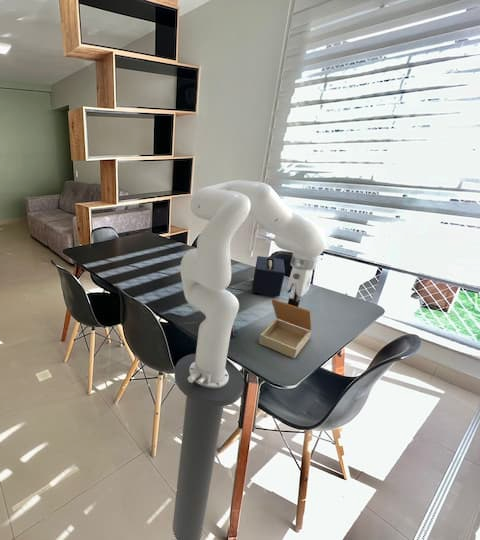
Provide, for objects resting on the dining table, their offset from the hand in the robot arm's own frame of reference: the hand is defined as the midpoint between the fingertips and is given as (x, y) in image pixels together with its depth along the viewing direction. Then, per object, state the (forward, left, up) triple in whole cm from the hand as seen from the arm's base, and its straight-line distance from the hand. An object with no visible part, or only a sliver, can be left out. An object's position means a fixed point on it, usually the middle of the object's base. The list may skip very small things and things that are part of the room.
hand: (292, 308), depth 106 cm
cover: (+2, 0, -4) cm, 4 cm away
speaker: (+43, +24, -14) cm, 51 cm away
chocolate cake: (-10, +19, -14) cm, 26 cm away
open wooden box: (0, 0, -14) cm, 14 cm away
